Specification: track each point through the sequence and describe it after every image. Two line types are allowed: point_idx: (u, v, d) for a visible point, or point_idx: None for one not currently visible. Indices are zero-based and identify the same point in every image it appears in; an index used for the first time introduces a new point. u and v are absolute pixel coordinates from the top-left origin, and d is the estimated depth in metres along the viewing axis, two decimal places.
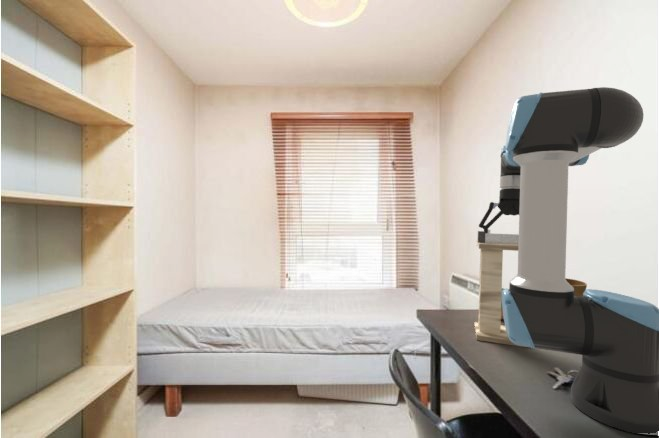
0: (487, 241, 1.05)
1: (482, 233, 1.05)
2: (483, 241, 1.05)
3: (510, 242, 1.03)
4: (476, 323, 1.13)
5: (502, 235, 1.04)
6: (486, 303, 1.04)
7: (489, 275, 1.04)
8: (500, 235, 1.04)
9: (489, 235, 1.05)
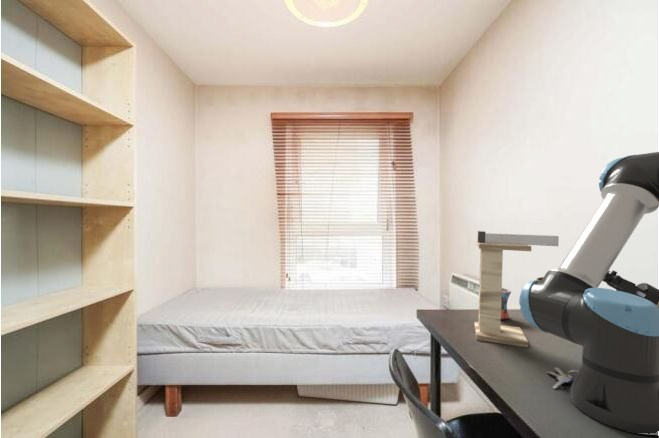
0: (487, 241, 1.05)
1: (482, 233, 1.05)
2: (483, 241, 1.05)
3: (510, 242, 1.03)
4: (476, 323, 1.13)
5: (502, 235, 1.04)
6: (486, 303, 1.04)
7: (489, 275, 1.04)
8: (500, 235, 1.04)
9: (489, 235, 1.05)
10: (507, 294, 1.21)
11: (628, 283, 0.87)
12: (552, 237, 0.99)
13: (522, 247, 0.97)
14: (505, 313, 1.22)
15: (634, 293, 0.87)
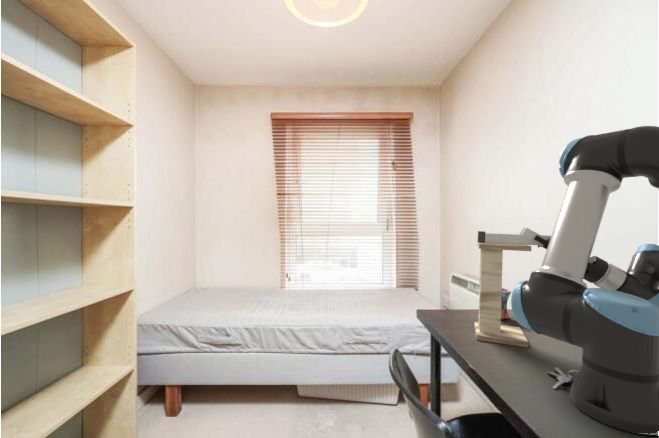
0: (487, 241, 1.05)
1: (482, 233, 1.05)
2: (483, 241, 1.05)
3: (510, 242, 1.03)
4: (476, 323, 1.13)
5: (502, 235, 1.04)
6: (486, 303, 1.04)
7: (489, 275, 1.04)
8: (500, 235, 1.04)
9: (489, 235, 1.05)
10: (507, 294, 1.21)
11: None
12: None
13: (522, 247, 0.97)
14: (505, 313, 1.22)
15: None
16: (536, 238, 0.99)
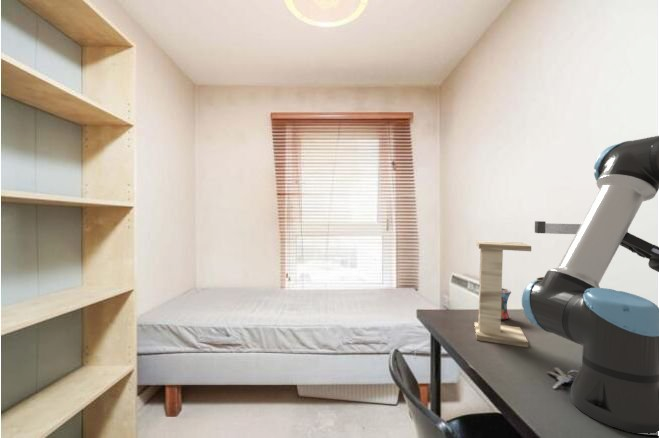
0: (547, 231, 0.99)
1: (542, 223, 0.99)
2: (543, 231, 0.99)
3: (573, 232, 0.97)
4: (476, 323, 1.13)
5: (564, 225, 0.98)
6: (486, 303, 1.04)
7: (489, 275, 1.04)
8: (562, 225, 0.98)
9: (549, 225, 0.99)
10: (507, 294, 1.21)
11: (636, 238, 0.88)
12: None
13: (522, 247, 0.97)
14: (505, 313, 1.22)
15: (647, 250, 0.87)
16: None
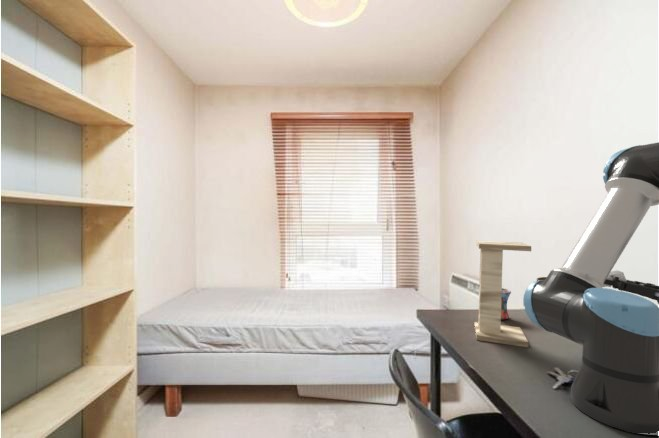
0: None
1: None
2: None
3: None
4: (476, 323, 1.13)
5: None
6: (486, 303, 1.04)
7: (489, 275, 1.04)
8: None
9: None
10: (507, 294, 1.21)
11: (637, 286, 0.88)
12: (616, 274, 0.93)
13: (522, 247, 0.97)
14: (505, 313, 1.22)
15: (652, 295, 0.87)
16: None
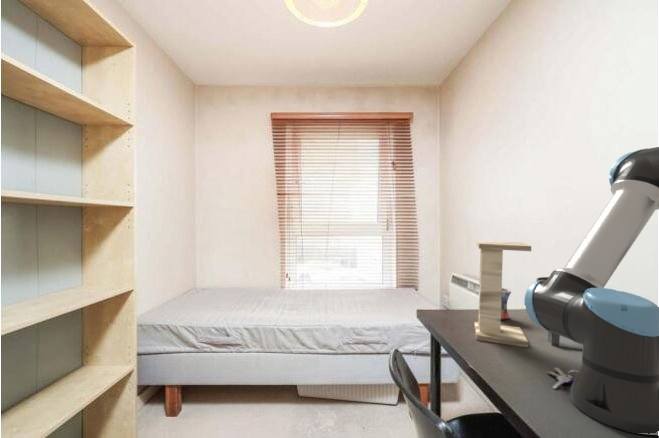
0: (561, 344, 0.98)
1: (556, 336, 0.98)
2: (557, 344, 0.98)
3: None
4: (476, 323, 1.13)
5: None
6: (486, 303, 1.04)
7: (489, 275, 1.04)
8: None
9: (564, 338, 0.98)
10: (507, 294, 1.21)
11: None
12: None
13: (522, 247, 0.97)
14: (505, 313, 1.22)
15: None
16: None
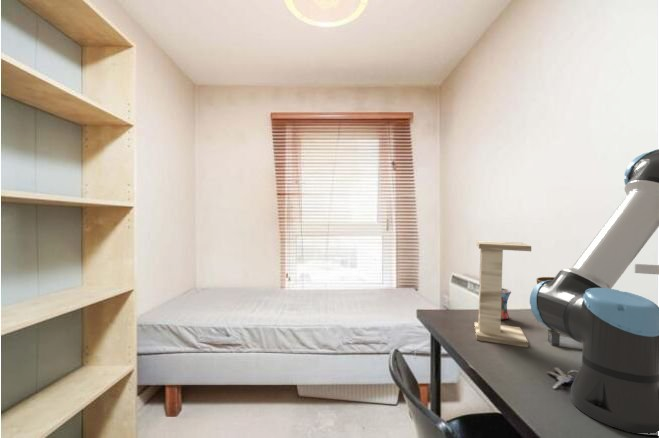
0: (561, 344, 0.98)
1: (556, 336, 0.98)
2: (557, 344, 0.98)
3: None
4: (476, 323, 1.13)
5: None
6: (486, 303, 1.04)
7: (489, 275, 1.04)
8: None
9: (564, 338, 0.98)
10: (507, 294, 1.21)
11: None
12: None
13: (522, 247, 0.97)
14: (505, 313, 1.22)
15: None
16: None
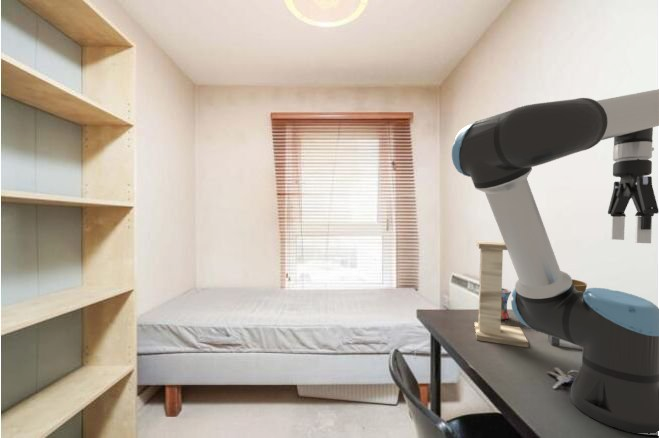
0: (561, 344, 0.98)
1: None
2: (557, 344, 0.98)
3: None
4: (476, 323, 1.13)
5: None
6: (486, 303, 1.04)
7: (489, 275, 1.04)
8: None
9: None
10: (507, 294, 1.21)
11: (644, 198, 0.78)
12: None
13: None
14: (505, 313, 1.22)
15: (649, 186, 0.79)
16: (647, 228, 0.79)
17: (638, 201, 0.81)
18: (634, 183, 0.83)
